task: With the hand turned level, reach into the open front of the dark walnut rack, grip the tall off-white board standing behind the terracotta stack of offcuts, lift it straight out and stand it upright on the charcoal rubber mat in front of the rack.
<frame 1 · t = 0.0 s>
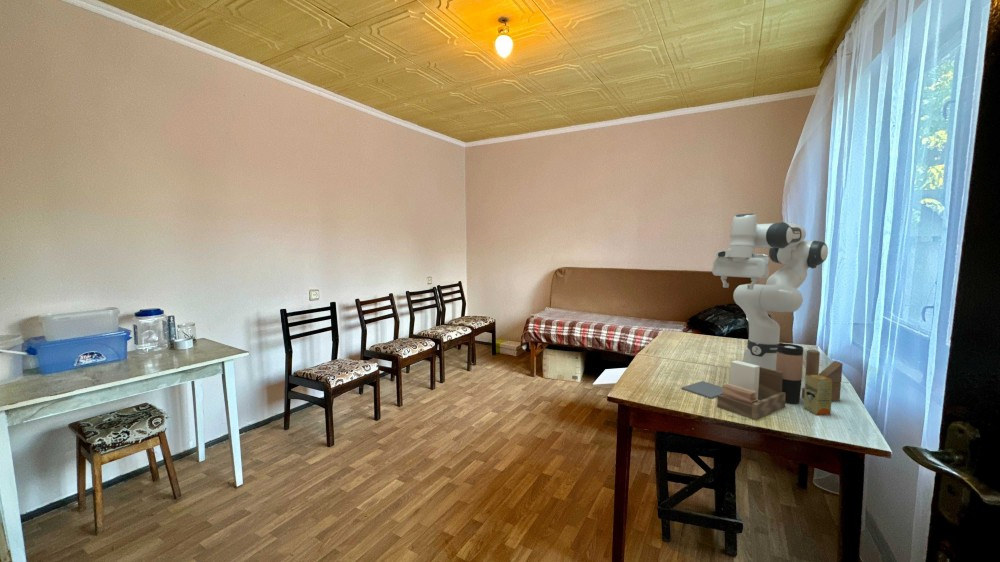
hand: (737, 288, 156), 39 cm above the table, tool pointing down, fingers open, 8 cm apart
travel mug: (786, 400, 141), on the table
rack: (743, 401, 140), on the table
tall sheet: (743, 401, 140), resting in rack
mat: (706, 390, 151), on the table
shoe polish box: (816, 412, 131), on the table
offcut stack: (738, 410, 133), resting in rack
wooden block: (820, 400, 141), on the table
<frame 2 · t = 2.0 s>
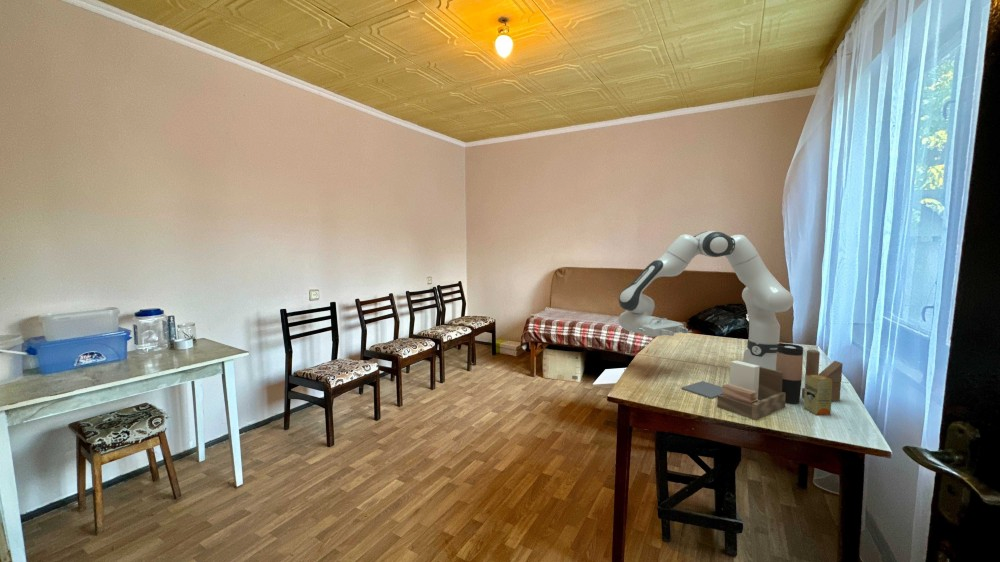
hand: (680, 332, 159), 21 cm above the table, tool horizontal, fingers open, 8 cm apart
nothing on the table moved.
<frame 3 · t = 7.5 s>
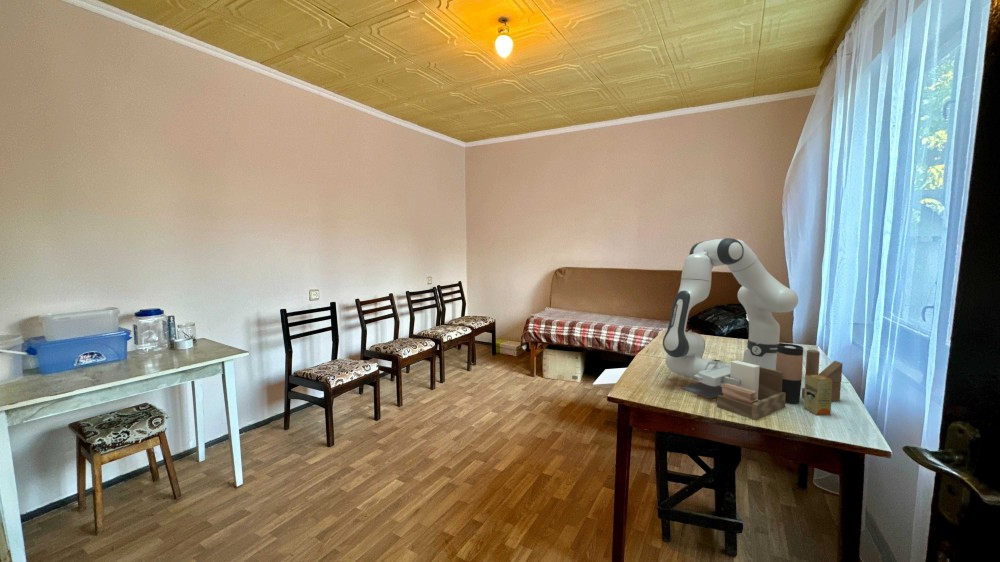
hand: (743, 381, 139), 8 cm above the table, tool horizontal, fingers closed on tall sheet, 3 cm apart
tall sheet: (743, 401, 140), resting in rack, touching gripper
everything else where it was.
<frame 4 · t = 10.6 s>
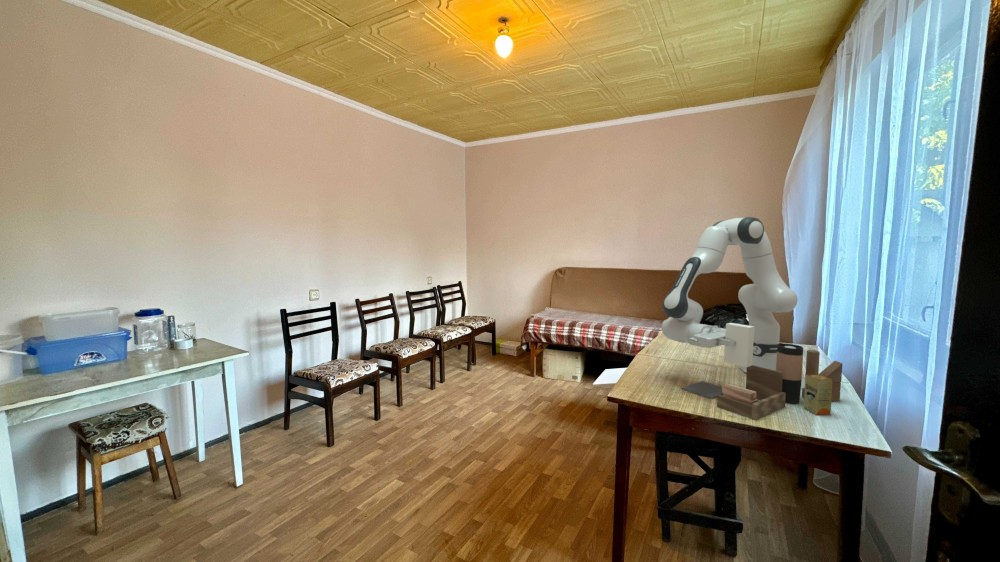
hand: (738, 342, 140), 21 cm above the table, tool horizontal, fingers closed on tall sheet, 3 cm apart
tall sheet: (737, 363, 140), point 14 cm above the table, touching gripper
everything else where it was.
when the fingers open (9 cm above the table, at t = 14.0 s): tall sheet drops 1 cm, resting on mat.
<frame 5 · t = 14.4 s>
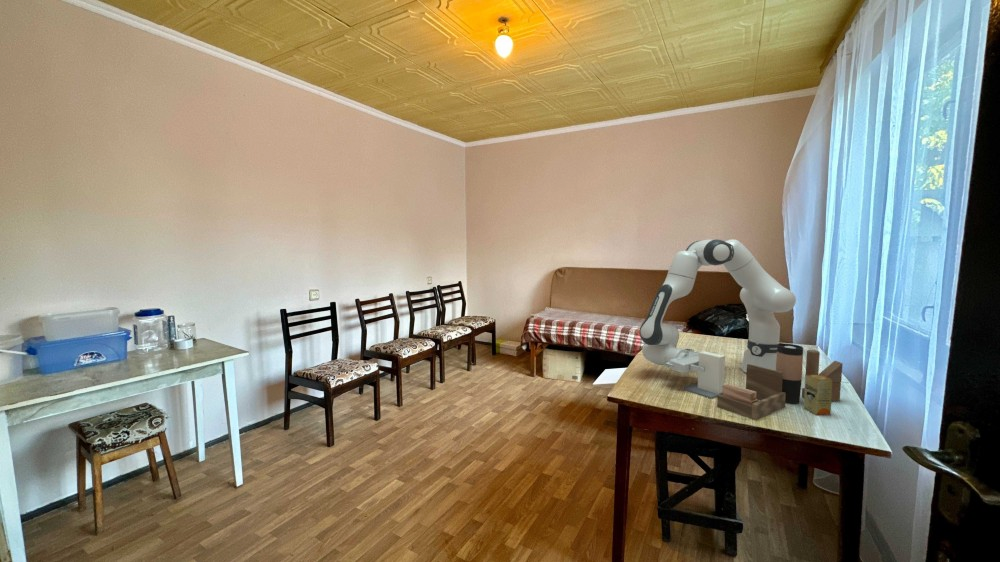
hand: (711, 368, 149), 9 cm above the table, tool horizontal, fingers open, 8 cm apart
tall sheet: (710, 389, 150), point 1 cm above the table, touching mat
everything else where it was.
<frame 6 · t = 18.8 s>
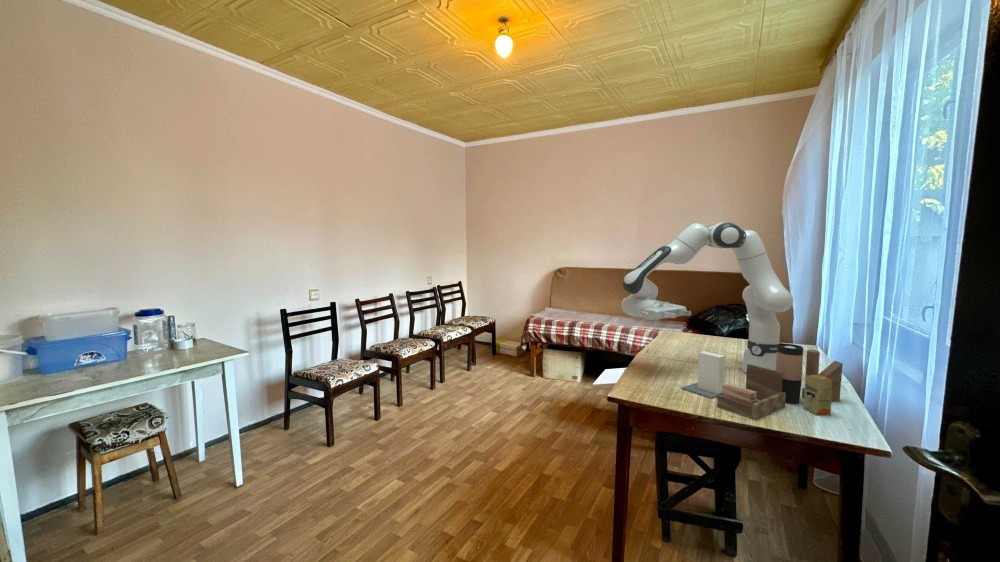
hand: (682, 314, 158), 28 cm above the table, tool horizontal, fingers open, 8 cm apart
nothing on the table moved.
at the end: tall sheet inside the target area (0.9 cm from its centre), point 0.6 cm above the table; tall sheet tilted 0°; offcut stack moved 0.1 cm from its start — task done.
